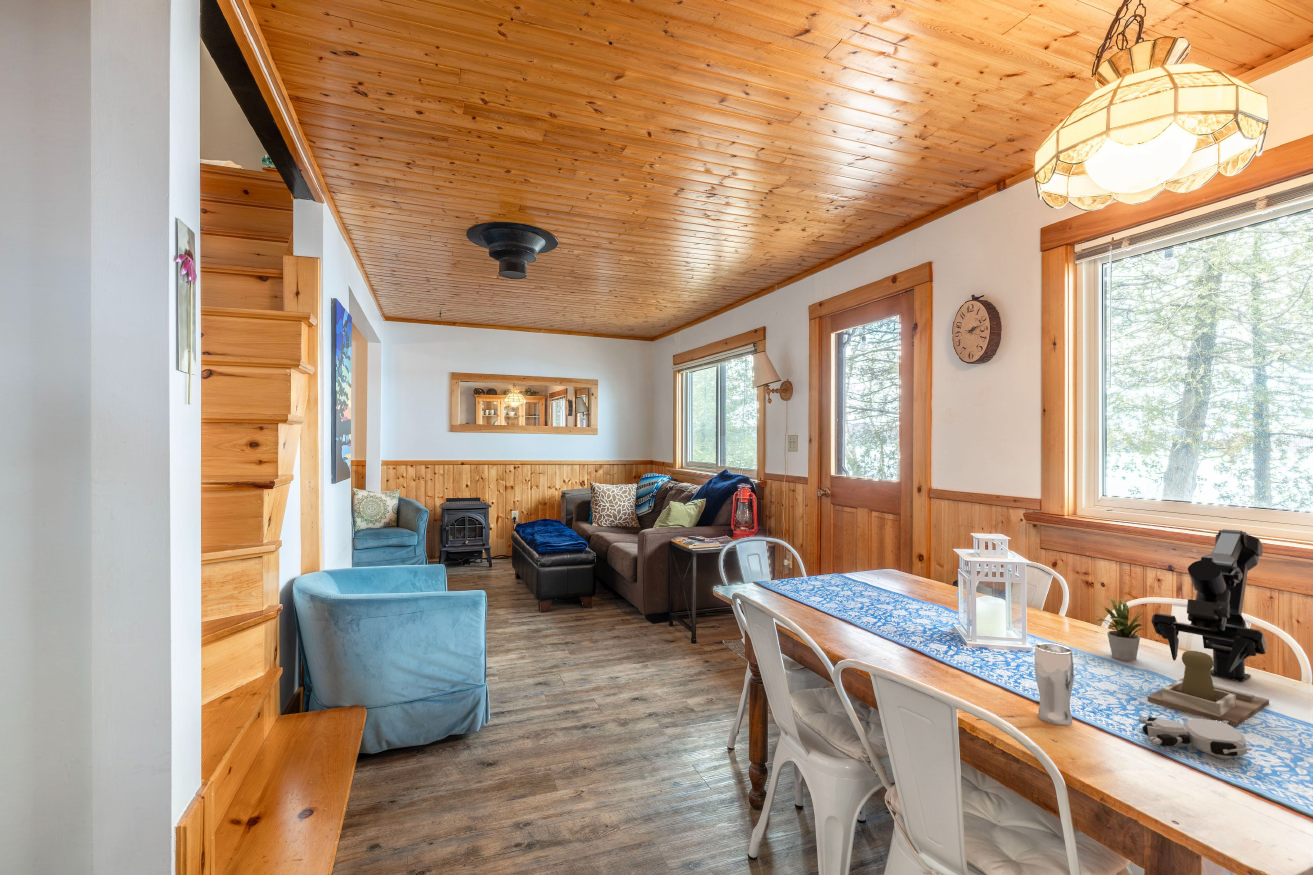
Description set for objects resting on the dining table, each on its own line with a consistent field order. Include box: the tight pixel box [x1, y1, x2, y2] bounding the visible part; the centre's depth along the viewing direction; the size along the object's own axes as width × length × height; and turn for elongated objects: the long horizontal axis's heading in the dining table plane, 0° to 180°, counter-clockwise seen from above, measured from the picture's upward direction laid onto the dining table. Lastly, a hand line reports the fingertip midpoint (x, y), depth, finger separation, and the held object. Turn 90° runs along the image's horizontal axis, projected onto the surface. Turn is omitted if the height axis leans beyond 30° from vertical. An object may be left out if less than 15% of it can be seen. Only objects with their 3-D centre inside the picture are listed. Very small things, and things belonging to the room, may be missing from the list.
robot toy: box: [1138, 716, 1253, 760], centre depth 115 cm, size 12×4×15 cm
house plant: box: [1089, 596, 1154, 662], centre depth 164 cm, size 14×14×16 cm
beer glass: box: [1034, 642, 1075, 726], centre depth 128 cm, size 7×7×15 cm
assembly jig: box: [1147, 677, 1270, 727], centre depth 134 cm, size 20×15×4 cm
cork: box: [1181, 650, 1216, 702], centre depth 132 cm, size 6×6×11 cm
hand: (1200, 665), depth 133 cm, fingers open, 9 cm apart
